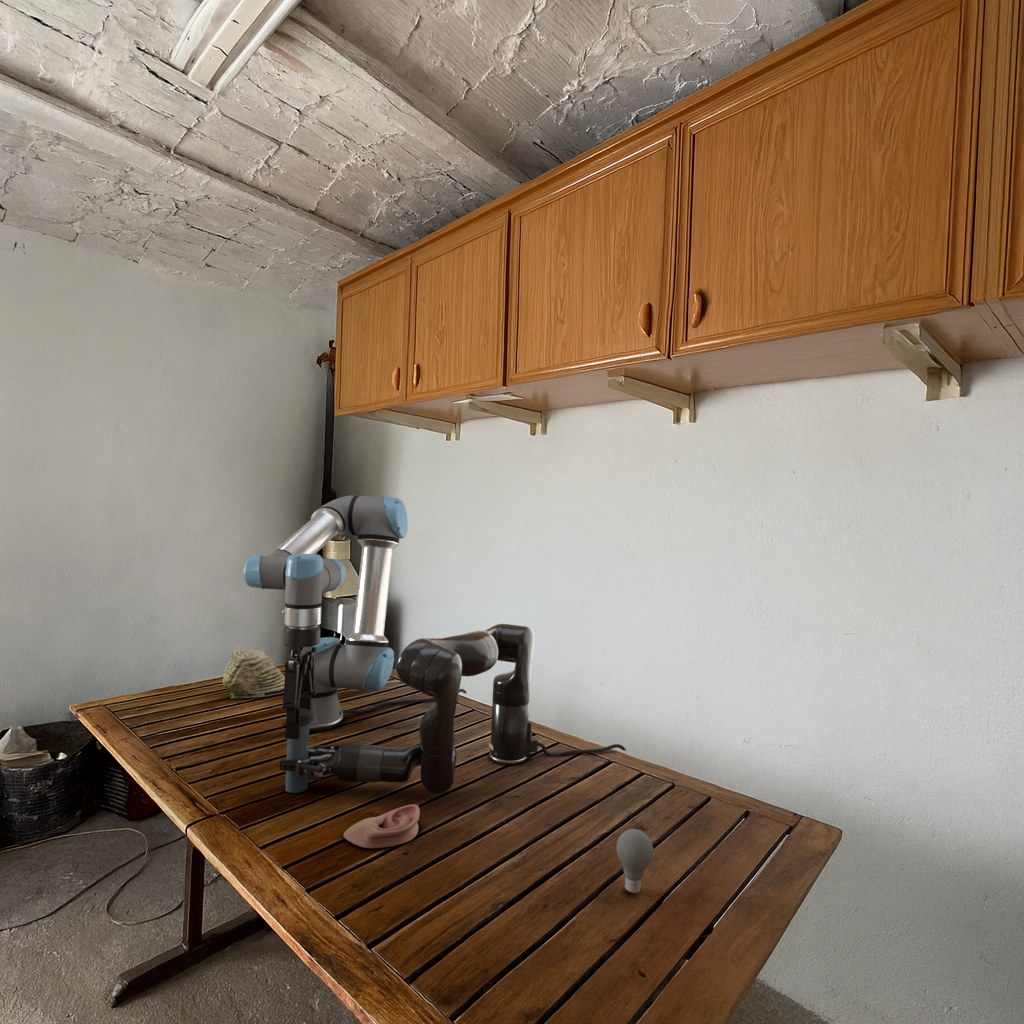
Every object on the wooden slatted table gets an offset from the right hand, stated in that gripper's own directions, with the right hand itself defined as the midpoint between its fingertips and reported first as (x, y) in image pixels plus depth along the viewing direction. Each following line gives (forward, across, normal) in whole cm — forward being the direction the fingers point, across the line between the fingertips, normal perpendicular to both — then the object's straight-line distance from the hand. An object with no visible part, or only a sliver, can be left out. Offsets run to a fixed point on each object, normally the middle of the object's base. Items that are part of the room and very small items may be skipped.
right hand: (285, 759), depth 137 cm
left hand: (-3, 0, -6) cm, 7 cm away
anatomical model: (-25, +17, +6) cm, 31 cm away
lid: (-3, 0, -10) cm, 10 cm away
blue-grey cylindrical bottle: (-3, 0, +6) cm, 7 cm away
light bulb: (-70, +31, +6) cm, 77 cm away
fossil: (+31, -61, +6) cm, 69 cm away
